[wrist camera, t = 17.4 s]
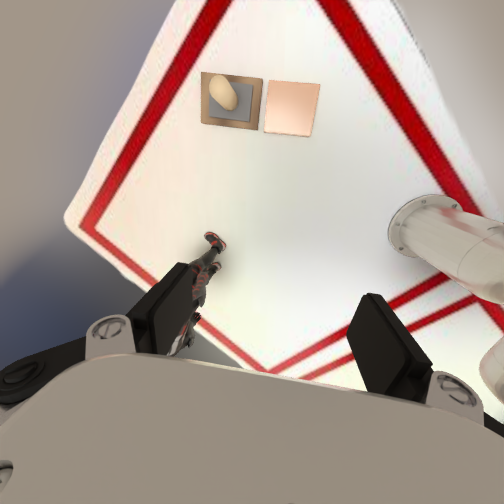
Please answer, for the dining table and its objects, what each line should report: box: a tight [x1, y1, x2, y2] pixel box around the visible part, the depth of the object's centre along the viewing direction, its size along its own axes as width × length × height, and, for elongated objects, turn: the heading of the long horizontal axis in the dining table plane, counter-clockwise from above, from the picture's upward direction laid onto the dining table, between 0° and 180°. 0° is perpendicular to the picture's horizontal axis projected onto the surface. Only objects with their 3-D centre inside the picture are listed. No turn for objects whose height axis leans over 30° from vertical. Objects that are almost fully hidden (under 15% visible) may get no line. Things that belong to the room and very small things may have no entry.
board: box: [201, 72, 263, 130], centre depth 35 cm, size 10×7×1 cm
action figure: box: [167, 232, 226, 357], centre depth 35 cm, size 10×11×30 cm
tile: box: [264, 80, 320, 137], centre depth 34 cm, size 2×7×8 cm
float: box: [209, 75, 253, 122], centre depth 31 cm, size 7×5×8 cm
